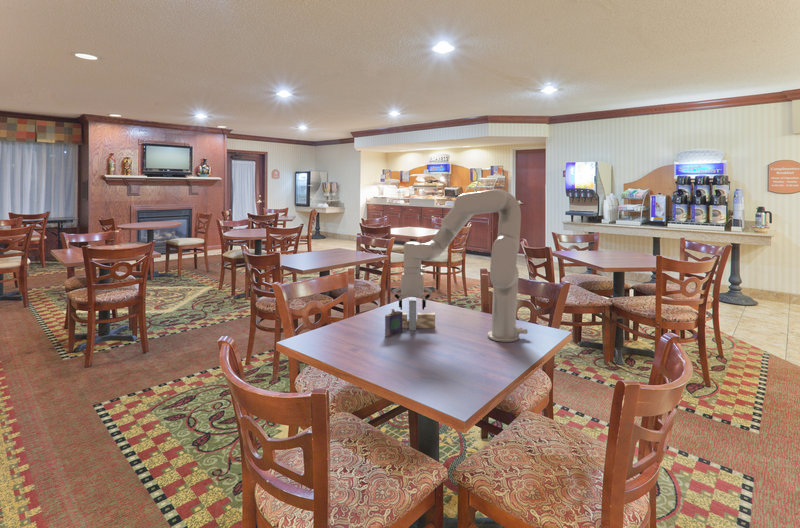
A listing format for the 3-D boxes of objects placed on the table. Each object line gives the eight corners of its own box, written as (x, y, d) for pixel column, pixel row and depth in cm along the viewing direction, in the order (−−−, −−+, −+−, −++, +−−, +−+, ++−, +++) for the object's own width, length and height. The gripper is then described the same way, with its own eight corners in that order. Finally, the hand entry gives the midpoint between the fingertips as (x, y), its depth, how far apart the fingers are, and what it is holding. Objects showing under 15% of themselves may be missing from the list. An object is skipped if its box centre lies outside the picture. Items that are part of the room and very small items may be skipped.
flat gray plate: (409, 323, 201) (409, 297, 199) (415, 323, 201) (415, 297, 199) (409, 330, 191) (409, 303, 189) (416, 330, 191) (416, 303, 189)
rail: (434, 325, 197) (434, 312, 196) (435, 327, 194) (435, 314, 193) (389, 325, 197) (389, 312, 196) (389, 327, 194) (389, 314, 193)
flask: (387, 337, 182) (387, 312, 180) (382, 335, 184) (382, 310, 182) (403, 332, 188) (403, 307, 186) (398, 330, 190) (398, 306, 188)
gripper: (431, 269, 195) (431, 306, 198) (392, 269, 195) (392, 306, 198) (433, 272, 188) (432, 311, 191) (392, 272, 188) (392, 311, 191)
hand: (412, 308), depth 194 cm, fingers open, 9 cm apart
